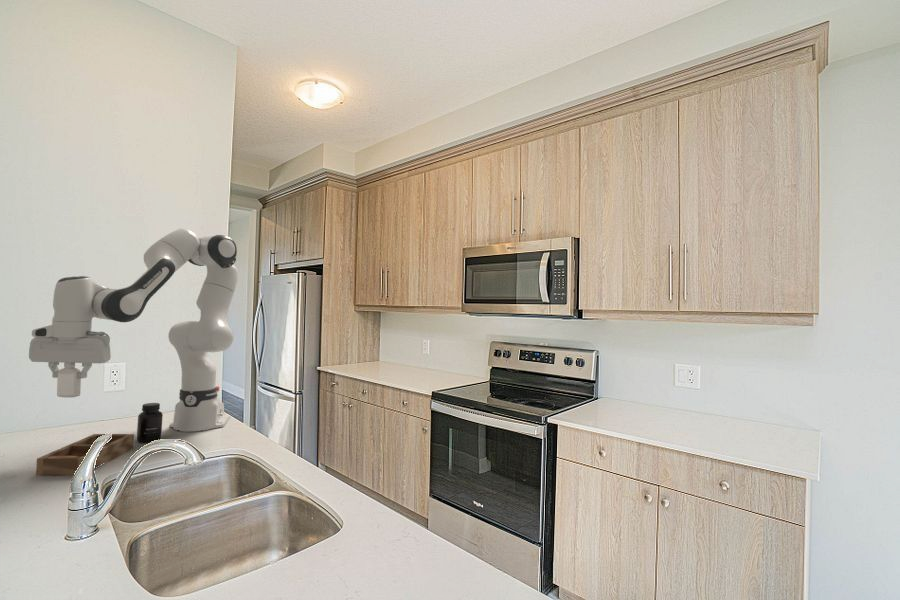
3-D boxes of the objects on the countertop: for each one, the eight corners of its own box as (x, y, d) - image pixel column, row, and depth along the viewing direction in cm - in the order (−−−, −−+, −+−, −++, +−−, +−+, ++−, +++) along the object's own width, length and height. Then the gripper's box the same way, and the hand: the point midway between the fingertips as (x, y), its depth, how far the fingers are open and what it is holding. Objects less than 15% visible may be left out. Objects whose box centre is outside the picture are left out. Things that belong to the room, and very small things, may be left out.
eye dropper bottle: (62, 399, 125) (64, 357, 125) (55, 395, 128) (56, 355, 128) (81, 396, 129) (83, 356, 128) (74, 393, 131) (75, 353, 131)
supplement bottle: (148, 444, 141) (150, 407, 141) (131, 442, 142) (132, 405, 142) (166, 438, 148) (168, 402, 148) (149, 436, 149) (151, 401, 149)
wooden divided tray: (93, 448, 135) (94, 433, 135) (133, 448, 137) (133, 433, 137) (36, 475, 114) (36, 457, 114) (83, 475, 115) (84, 457, 115)
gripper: (116, 331, 132) (114, 376, 132) (43, 329, 130) (41, 375, 130) (102, 332, 126) (100, 380, 126) (25, 330, 124) (23, 378, 124)
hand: (69, 377), depth 128 cm, fingers closed on eye dropper bottle, 5 cm apart
